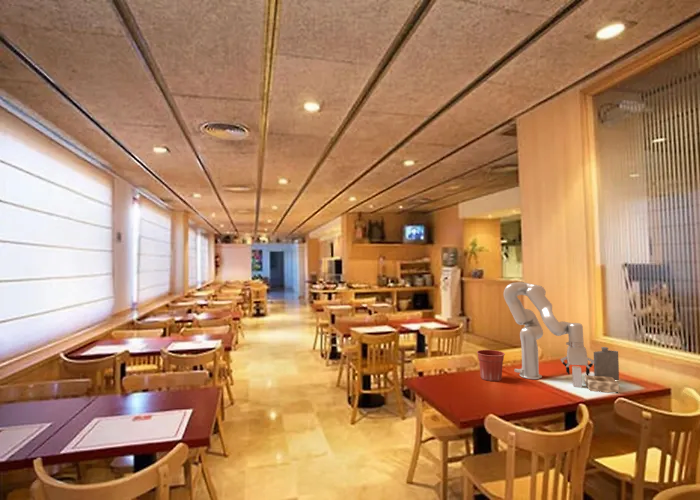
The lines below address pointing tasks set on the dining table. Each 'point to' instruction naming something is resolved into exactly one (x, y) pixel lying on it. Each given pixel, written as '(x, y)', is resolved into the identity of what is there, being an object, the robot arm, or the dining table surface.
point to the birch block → (601, 384)
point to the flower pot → (491, 364)
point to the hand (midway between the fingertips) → (577, 374)
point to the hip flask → (606, 363)
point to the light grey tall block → (576, 376)
